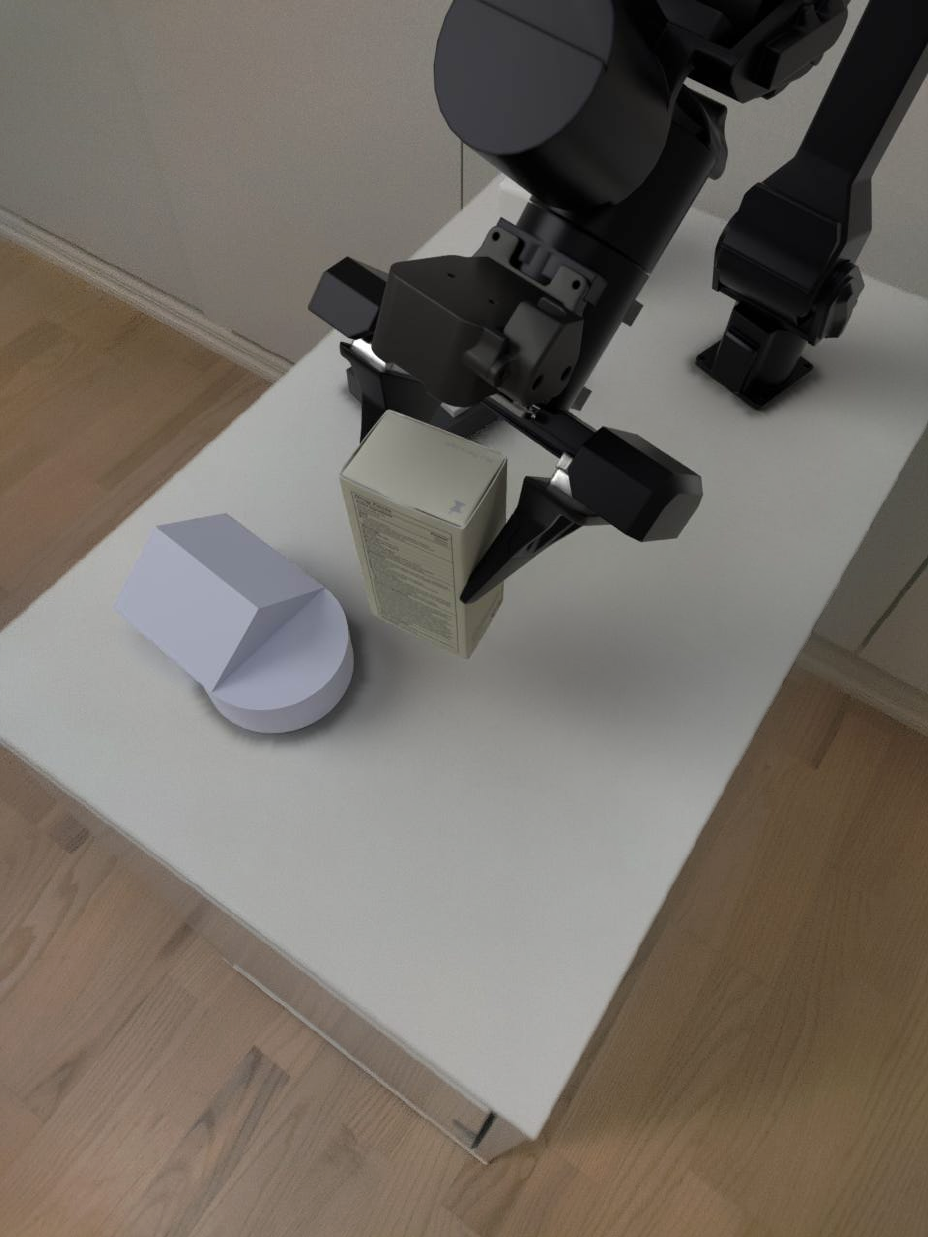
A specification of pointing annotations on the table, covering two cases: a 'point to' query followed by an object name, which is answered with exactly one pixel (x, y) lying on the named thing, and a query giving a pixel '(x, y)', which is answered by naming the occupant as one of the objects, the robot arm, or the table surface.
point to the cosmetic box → (425, 527)
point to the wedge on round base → (241, 623)
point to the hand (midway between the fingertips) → (410, 557)
